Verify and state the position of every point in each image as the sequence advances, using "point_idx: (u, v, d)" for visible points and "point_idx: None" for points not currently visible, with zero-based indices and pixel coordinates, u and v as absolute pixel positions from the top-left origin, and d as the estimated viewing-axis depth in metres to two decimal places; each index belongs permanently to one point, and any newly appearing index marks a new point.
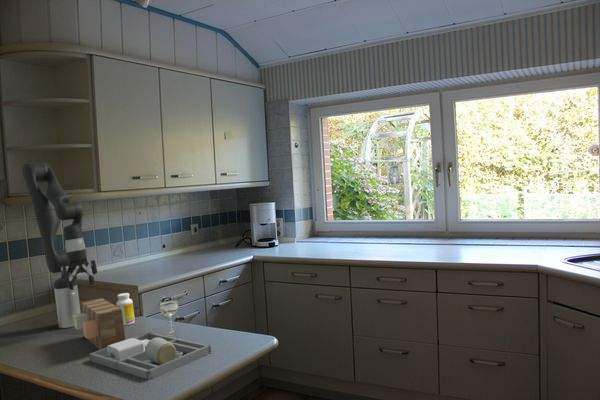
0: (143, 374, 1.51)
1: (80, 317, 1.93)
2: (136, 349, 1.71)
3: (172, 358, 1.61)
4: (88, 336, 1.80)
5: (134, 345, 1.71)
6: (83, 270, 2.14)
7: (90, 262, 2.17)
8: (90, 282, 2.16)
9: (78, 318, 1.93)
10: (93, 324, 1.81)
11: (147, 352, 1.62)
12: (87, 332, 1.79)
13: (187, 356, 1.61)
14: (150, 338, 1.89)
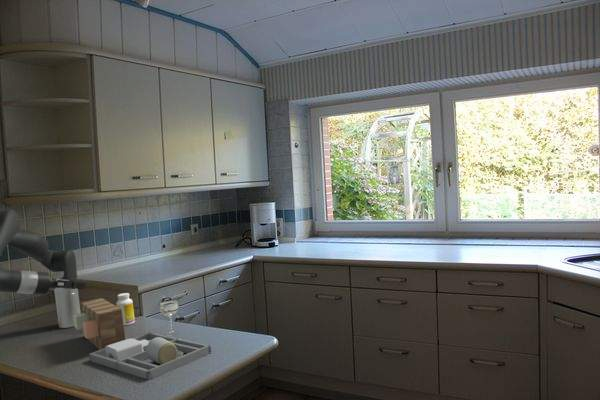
0: (143, 374, 1.51)
1: (80, 317, 1.93)
2: (134, 349, 1.71)
3: (173, 358, 1.62)
4: (88, 336, 1.80)
5: (132, 345, 1.71)
6: None
7: None
8: None
9: (78, 318, 1.93)
10: (93, 324, 1.81)
11: (148, 352, 1.62)
12: (87, 332, 1.79)
13: (187, 356, 1.61)
14: (150, 338, 1.89)
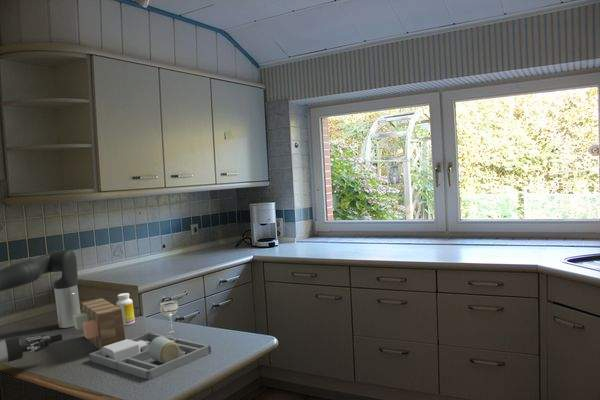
0: (143, 374, 1.51)
1: (80, 317, 1.93)
2: (131, 350, 1.71)
3: (175, 357, 1.62)
4: (88, 336, 1.80)
5: (129, 346, 1.70)
6: None
7: None
8: None
9: (78, 318, 1.93)
10: (93, 324, 1.81)
11: (150, 351, 1.63)
12: (87, 332, 1.79)
13: (187, 356, 1.61)
14: (150, 338, 1.89)
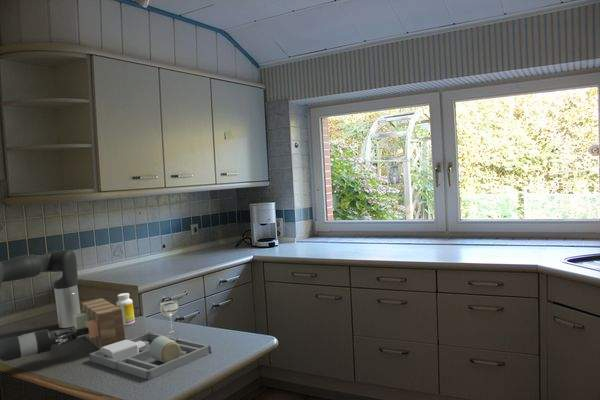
0: (143, 374, 1.51)
1: (80, 317, 1.93)
2: (130, 351, 1.70)
3: (176, 357, 1.62)
4: (91, 335, 1.80)
5: (128, 347, 1.70)
6: None
7: None
8: None
9: (78, 318, 1.93)
10: (96, 323, 1.81)
11: (151, 351, 1.63)
12: (90, 331, 1.80)
13: (187, 356, 1.61)
14: (150, 338, 1.89)
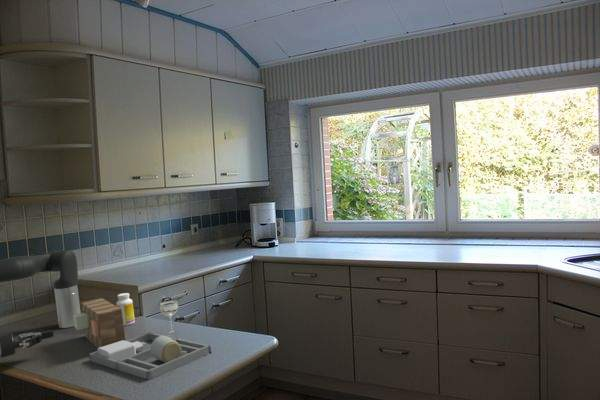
0: (143, 374, 1.51)
1: (80, 317, 1.93)
2: (127, 351, 1.70)
3: (177, 356, 1.63)
4: (97, 334, 1.81)
5: (125, 347, 1.70)
6: None
7: None
8: None
9: (78, 318, 1.93)
10: None
11: (152, 350, 1.64)
12: (96, 330, 1.81)
13: (187, 356, 1.61)
14: (150, 338, 1.89)
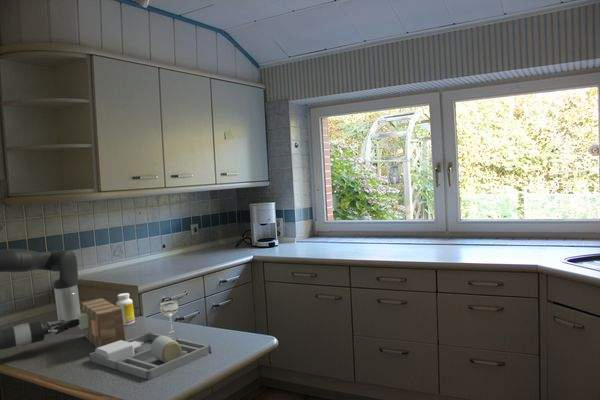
0: (143, 374, 1.51)
1: (83, 316, 1.94)
2: (125, 351, 1.70)
3: (177, 356, 1.63)
4: (97, 334, 1.81)
5: (123, 347, 1.70)
6: None
7: None
8: None
9: (81, 317, 1.93)
10: None
11: (152, 350, 1.64)
12: (96, 330, 1.81)
13: (187, 356, 1.61)
14: (150, 338, 1.89)
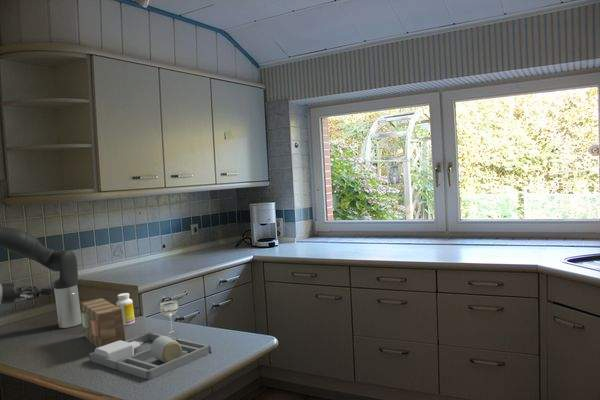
0: (143, 374, 1.51)
1: None
2: (125, 351, 1.70)
3: (177, 356, 1.63)
4: (97, 334, 1.81)
5: (123, 347, 1.70)
6: None
7: None
8: None
9: (86, 316, 1.94)
10: None
11: (152, 350, 1.63)
12: (96, 330, 1.81)
13: (187, 356, 1.61)
14: (150, 338, 1.89)
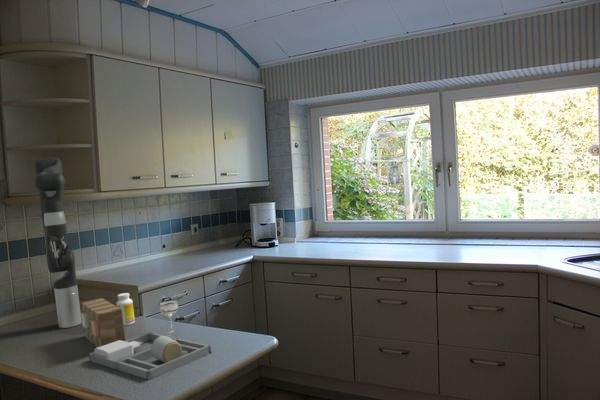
0: (143, 374, 1.51)
1: None
2: (125, 351, 1.70)
3: (177, 356, 1.62)
4: (97, 334, 1.81)
5: (123, 347, 1.70)
6: None
7: (62, 243, 1.97)
8: None
9: (86, 316, 1.94)
10: None
11: (153, 351, 1.63)
12: (96, 330, 1.81)
13: (187, 356, 1.61)
14: (150, 338, 1.89)
